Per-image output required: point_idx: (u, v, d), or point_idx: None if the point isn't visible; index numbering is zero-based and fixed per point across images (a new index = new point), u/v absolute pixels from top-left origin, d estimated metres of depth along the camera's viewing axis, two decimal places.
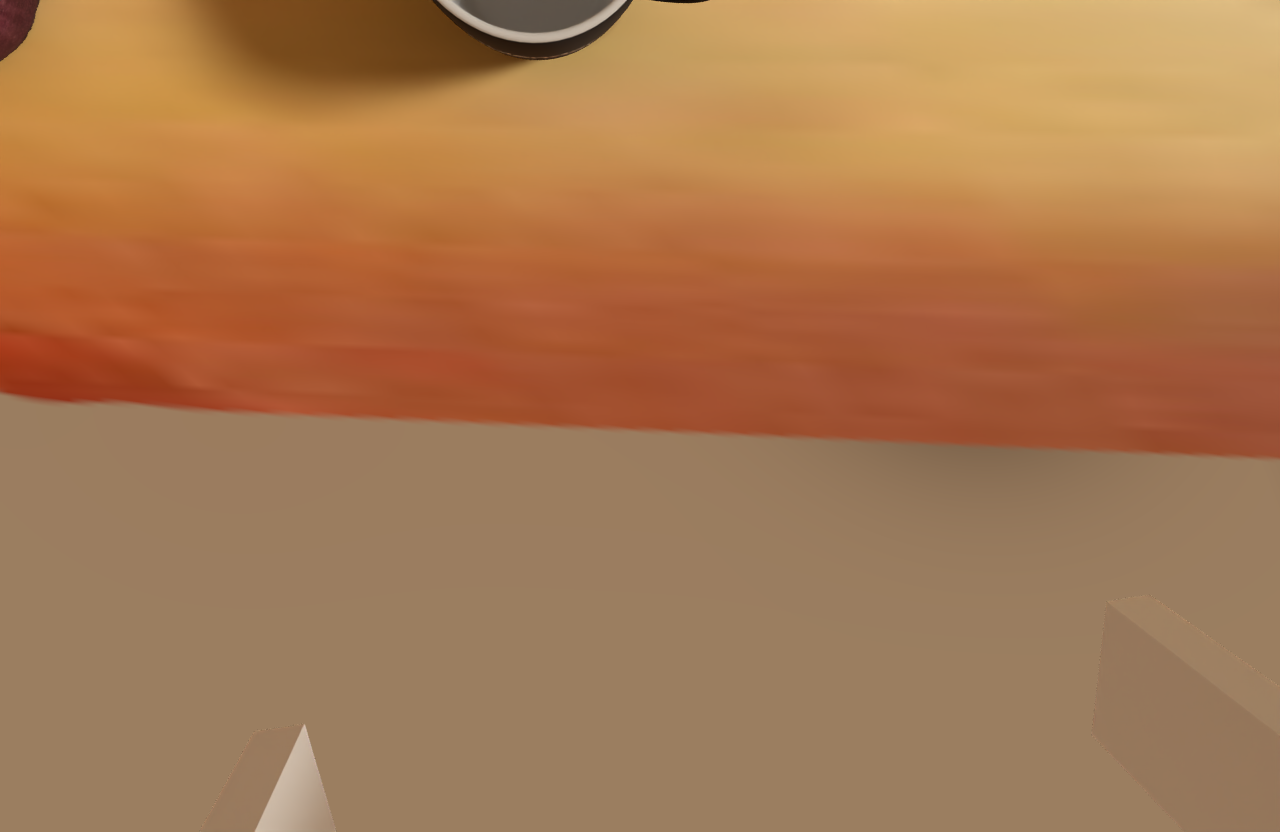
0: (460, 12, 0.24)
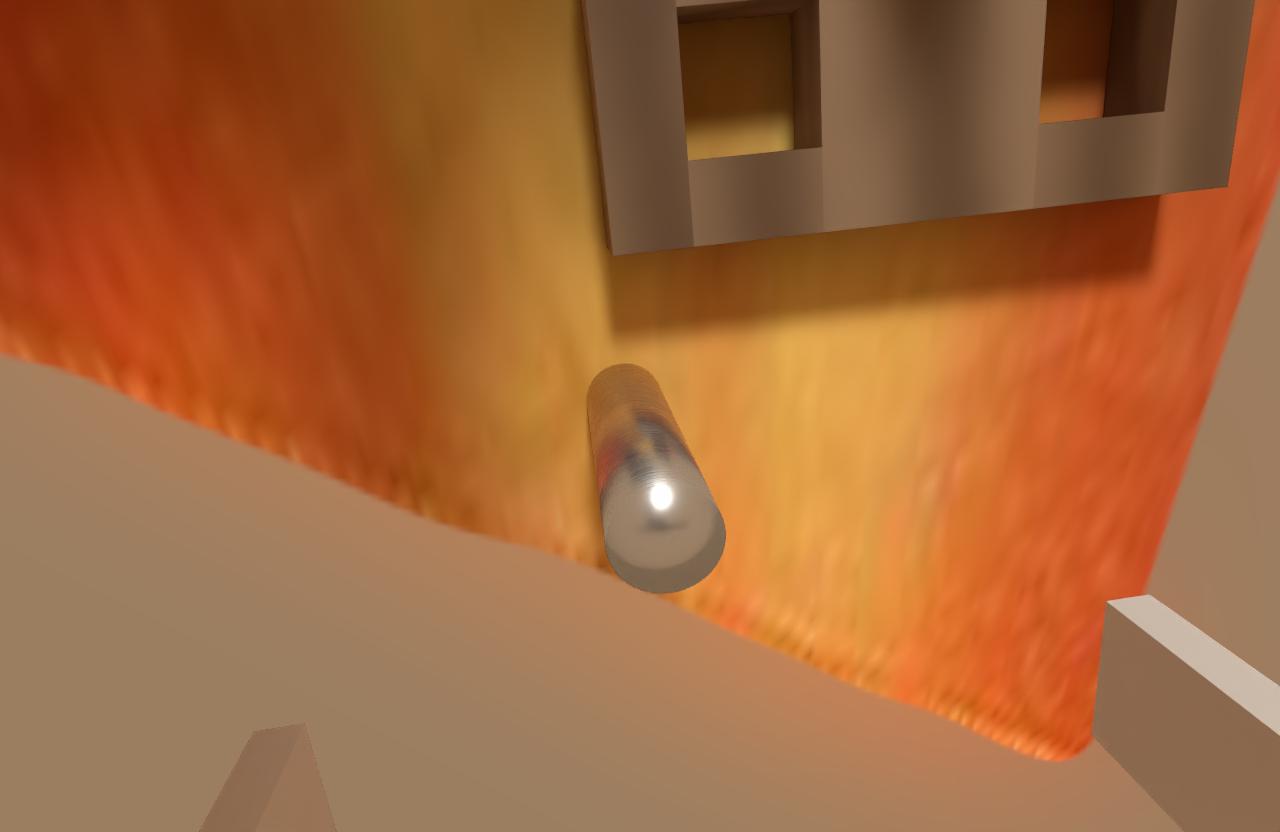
0: None
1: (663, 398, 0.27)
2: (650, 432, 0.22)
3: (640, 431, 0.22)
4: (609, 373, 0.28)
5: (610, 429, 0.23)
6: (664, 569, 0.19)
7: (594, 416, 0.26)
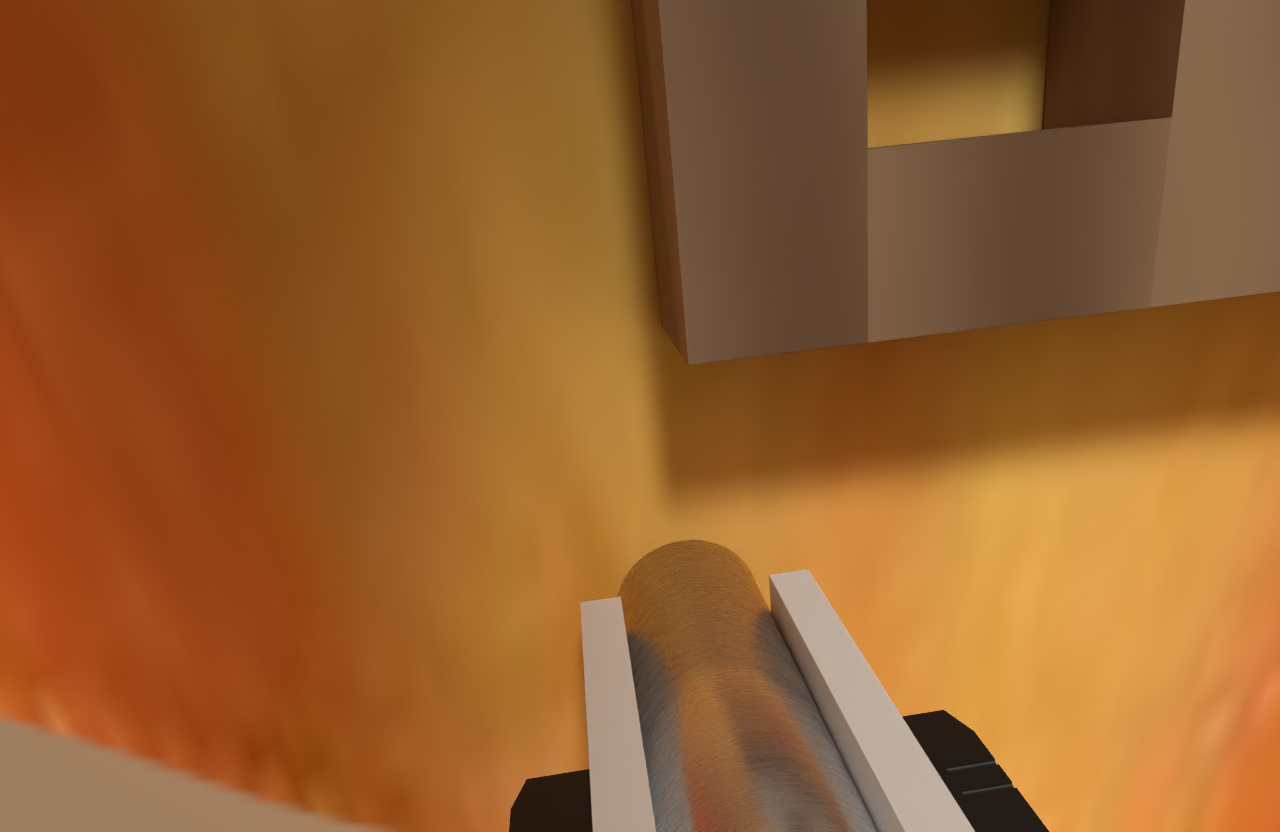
0: None
1: (786, 652, 0.13)
2: None
3: None
4: (664, 570, 0.14)
5: (698, 830, 0.09)
6: None
7: (643, 708, 0.12)
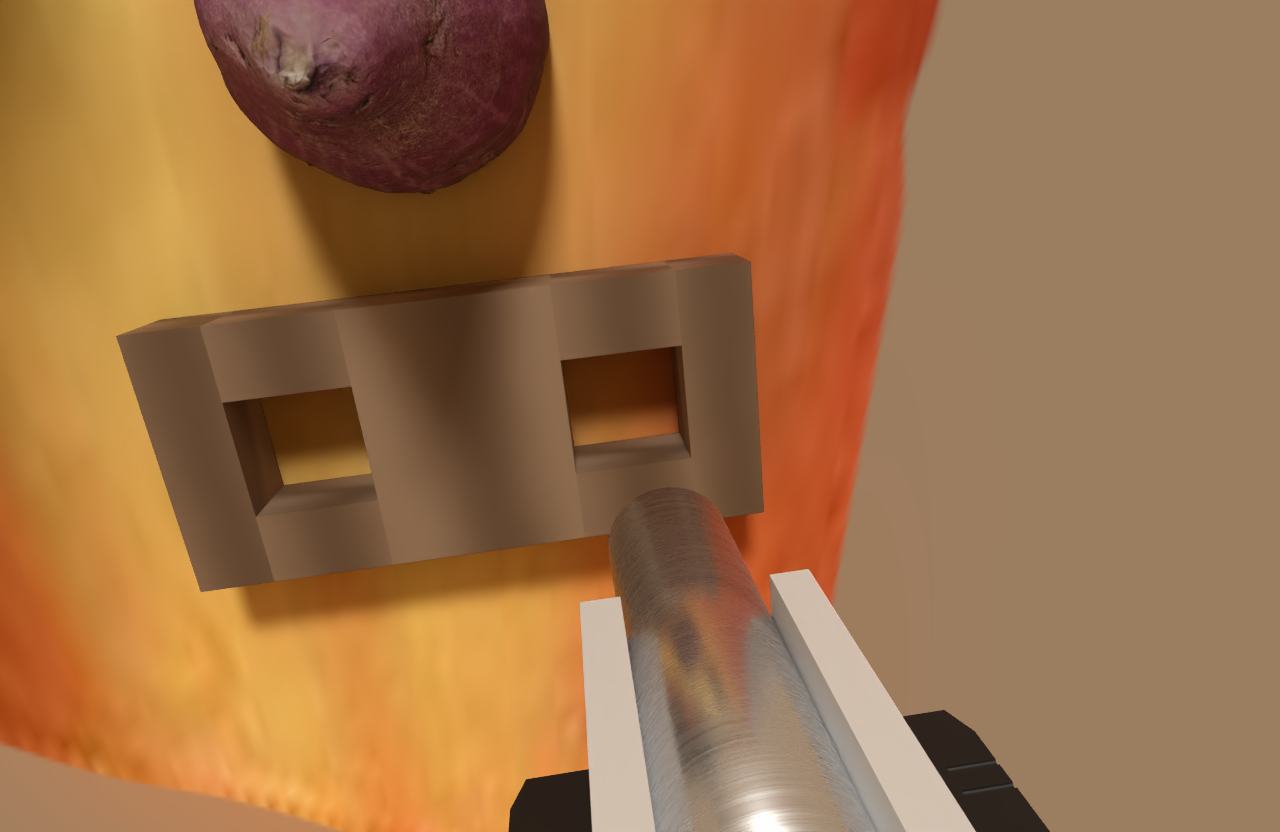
0: None
1: (744, 568, 0.15)
2: (756, 718, 0.10)
3: (733, 714, 0.11)
4: (647, 509, 0.17)
5: (665, 679, 0.12)
6: None
7: (627, 609, 0.15)
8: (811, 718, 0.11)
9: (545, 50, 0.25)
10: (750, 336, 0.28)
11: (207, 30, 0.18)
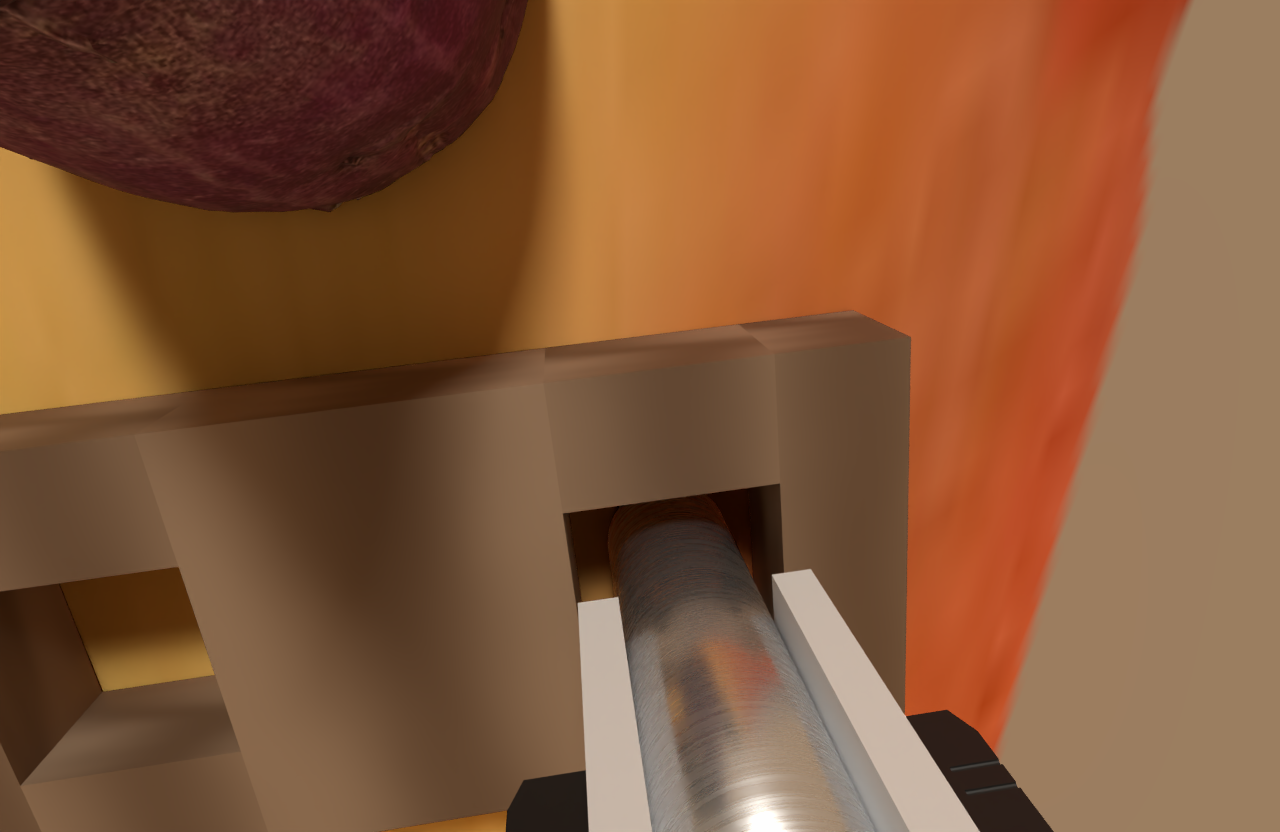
0: None
1: (742, 562, 0.16)
2: (752, 706, 0.11)
3: (730, 703, 0.11)
4: (646, 504, 0.18)
5: (663, 668, 0.12)
6: None
7: (626, 602, 0.15)
8: (806, 707, 0.11)
9: None
10: (901, 465, 0.16)
11: None
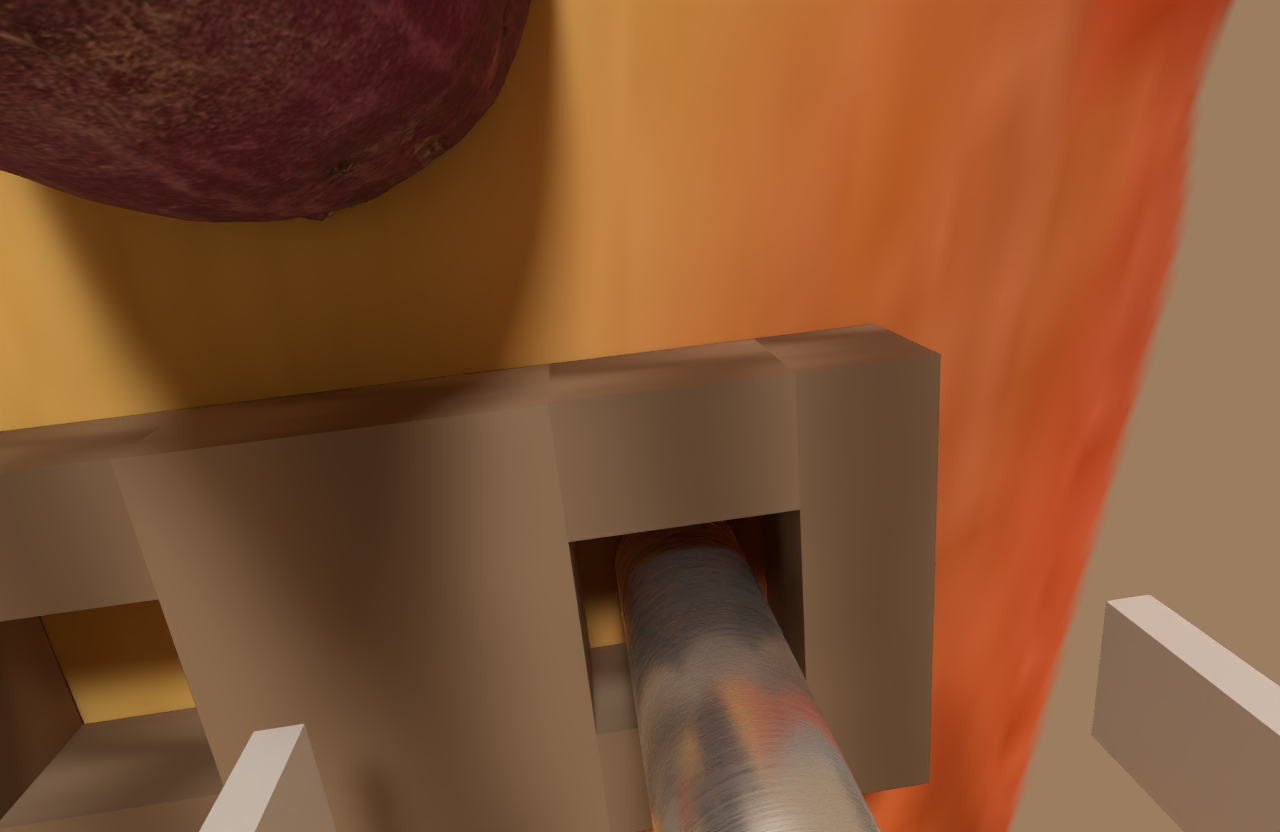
0: None
1: (759, 591, 0.15)
2: (778, 765, 0.10)
3: (754, 760, 0.10)
4: None
5: (678, 716, 0.11)
6: None
7: (636, 636, 0.14)
8: (836, 762, 0.10)
9: None
10: (929, 490, 0.15)
11: None
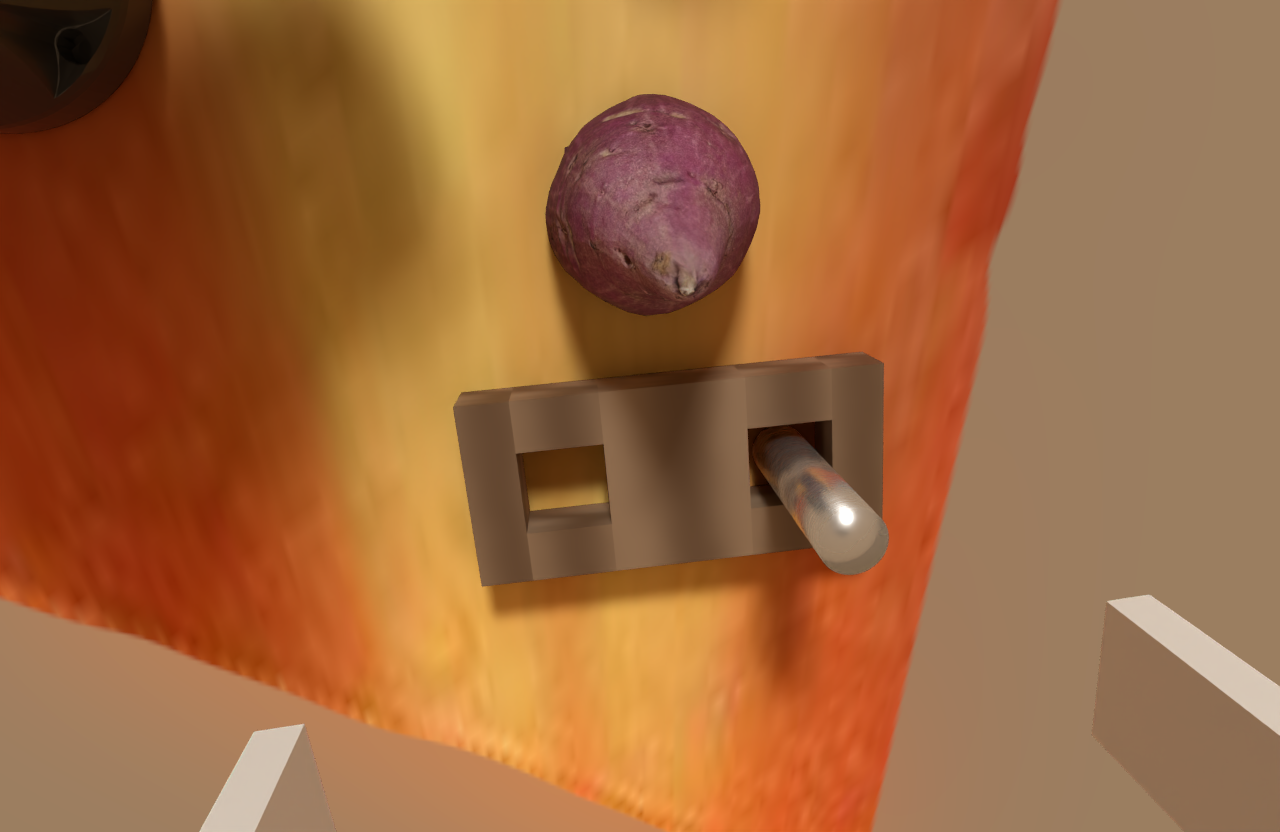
0: None
1: None
2: (828, 476, 0.34)
3: (821, 475, 0.34)
4: (772, 431, 0.41)
5: (795, 472, 0.36)
6: (850, 560, 0.31)
7: (772, 462, 0.39)
8: (844, 480, 0.35)
9: None
10: (880, 414, 0.39)
11: (593, 239, 0.30)
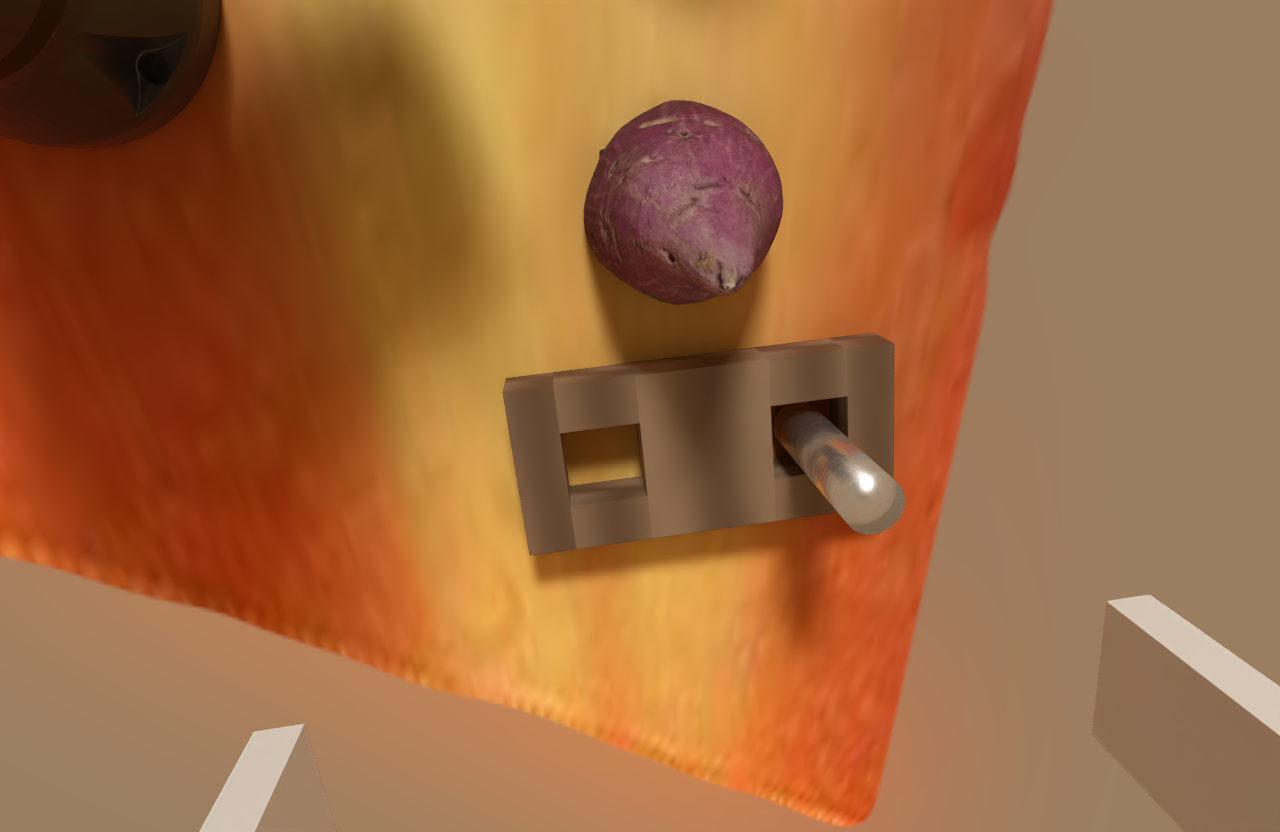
0: None
1: None
2: (848, 447, 0.38)
3: (841, 447, 0.38)
4: (792, 408, 0.45)
5: (817, 445, 0.39)
6: (871, 521, 0.35)
7: (794, 436, 0.42)
8: (862, 451, 0.39)
9: None
10: (891, 390, 0.43)
11: (638, 239, 0.33)
